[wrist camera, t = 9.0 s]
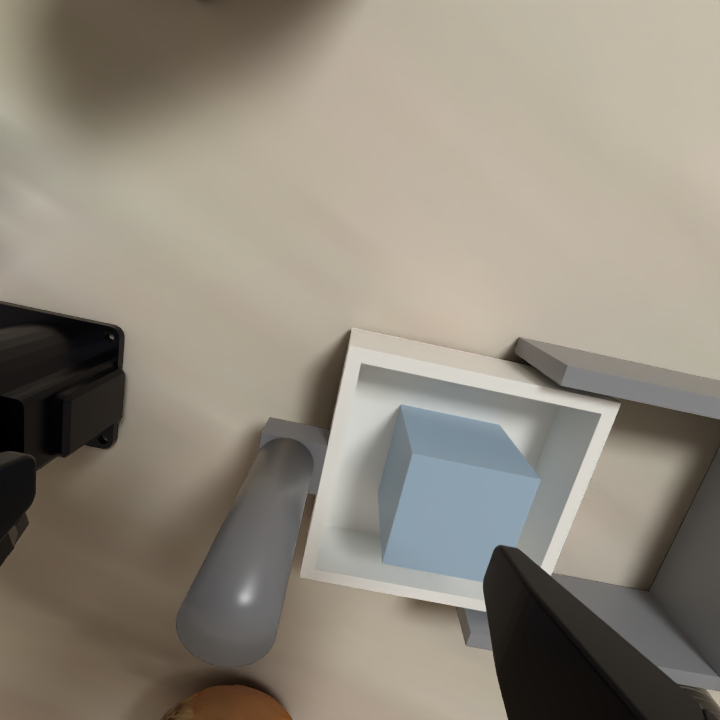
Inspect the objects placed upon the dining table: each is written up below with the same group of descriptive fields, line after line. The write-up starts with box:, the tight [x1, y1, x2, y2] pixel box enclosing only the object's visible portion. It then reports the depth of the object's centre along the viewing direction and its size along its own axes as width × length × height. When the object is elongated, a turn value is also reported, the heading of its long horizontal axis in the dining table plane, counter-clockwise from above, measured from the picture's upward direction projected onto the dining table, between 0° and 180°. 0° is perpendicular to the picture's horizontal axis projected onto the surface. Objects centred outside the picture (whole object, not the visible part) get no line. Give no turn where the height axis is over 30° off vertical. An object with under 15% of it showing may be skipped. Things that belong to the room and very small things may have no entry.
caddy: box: [176, 327, 621, 667], centre depth 16 cm, size 14×11×12 cm
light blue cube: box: [378, 404, 541, 582], centre depth 19 cm, size 5×5×5 cm
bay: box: [456, 337, 720, 691], centre depth 20 cm, size 13×14×5 cm
